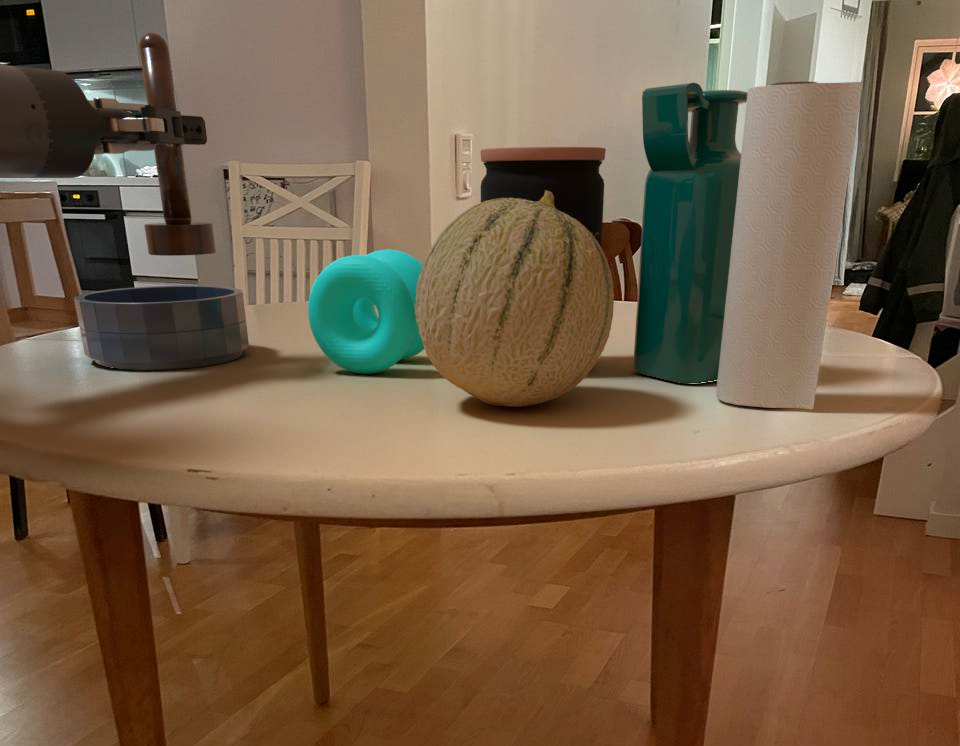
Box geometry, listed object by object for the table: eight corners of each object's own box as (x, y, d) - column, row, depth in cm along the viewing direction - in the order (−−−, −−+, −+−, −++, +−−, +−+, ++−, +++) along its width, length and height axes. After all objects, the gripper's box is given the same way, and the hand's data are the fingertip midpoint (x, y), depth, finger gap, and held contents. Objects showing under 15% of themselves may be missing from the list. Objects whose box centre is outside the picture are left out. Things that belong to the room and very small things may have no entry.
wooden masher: (138, 255, 83) (101, 27, 75) (162, 251, 88) (131, 38, 80) (203, 255, 82) (173, 26, 75) (224, 251, 88) (198, 37, 80)
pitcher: (691, 362, 87) (716, 93, 77) (760, 376, 81) (796, 85, 71) (611, 373, 82) (627, 89, 73) (677, 389, 76) (704, 80, 66)
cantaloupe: (379, 407, 71) (367, 192, 64) (500, 378, 81) (501, 189, 74) (529, 437, 62) (534, 192, 56) (645, 401, 72) (660, 189, 65)
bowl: (58, 371, 86) (44, 303, 83) (125, 344, 100) (115, 285, 97) (222, 372, 85) (213, 303, 82) (267, 344, 99) (260, 285, 96)
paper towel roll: (706, 393, 75) (736, 87, 65) (779, 392, 75) (820, 87, 65) (733, 413, 68) (771, 77, 59) (813, 412, 68) (864, 77, 59)
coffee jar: (512, 381, 79) (513, 146, 71) (463, 362, 88) (460, 150, 80) (617, 371, 83) (630, 146, 75) (561, 353, 92) (567, 150, 84)
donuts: (307, 374, 84) (297, 255, 79) (352, 355, 92) (344, 248, 88) (410, 379, 81) (405, 257, 77) (446, 359, 90) (443, 248, 85)
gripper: (59, 58, 65) (241, 78, 78) (-50, 71, 72) (134, 87, 85) (80, 177, 68) (251, 177, 81) (-25, 178, 75) (148, 178, 88)
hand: (191, 131), depth 83 cm, fingers closed on wooden masher, 2 cm apart
